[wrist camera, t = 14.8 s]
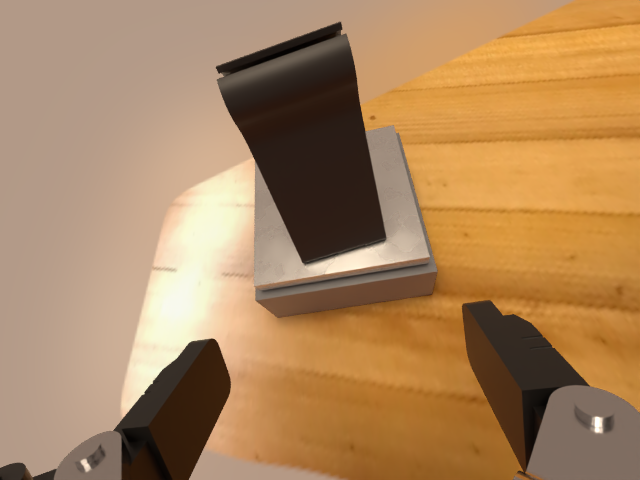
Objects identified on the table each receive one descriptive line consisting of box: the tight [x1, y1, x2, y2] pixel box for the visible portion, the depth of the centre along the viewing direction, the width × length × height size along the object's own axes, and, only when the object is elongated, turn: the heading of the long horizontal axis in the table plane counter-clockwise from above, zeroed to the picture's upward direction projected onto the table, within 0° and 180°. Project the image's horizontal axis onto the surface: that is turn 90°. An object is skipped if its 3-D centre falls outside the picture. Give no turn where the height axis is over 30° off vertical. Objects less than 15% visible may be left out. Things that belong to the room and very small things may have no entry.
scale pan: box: [254, 125, 430, 291], centre depth 25 cm, size 12×12×1 cm
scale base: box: [255, 133, 438, 317], centre depth 29 cm, size 13×14×5 cm
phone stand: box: [216, 22, 387, 263], centre depth 20 cm, size 9×6×12 cm, turn 12°
